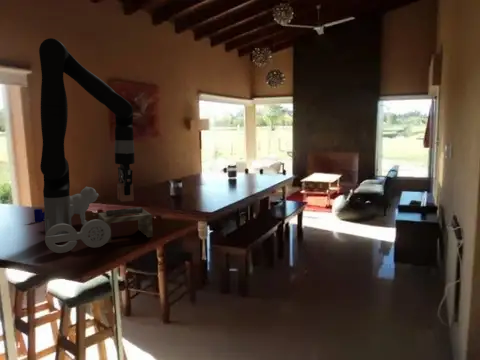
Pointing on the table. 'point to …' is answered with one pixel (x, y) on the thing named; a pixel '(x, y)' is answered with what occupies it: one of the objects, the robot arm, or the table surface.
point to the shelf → (129, 219)
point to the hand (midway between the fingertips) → (125, 193)
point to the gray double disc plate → (78, 235)
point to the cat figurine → (82, 202)
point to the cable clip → (39, 215)
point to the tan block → (121, 193)
